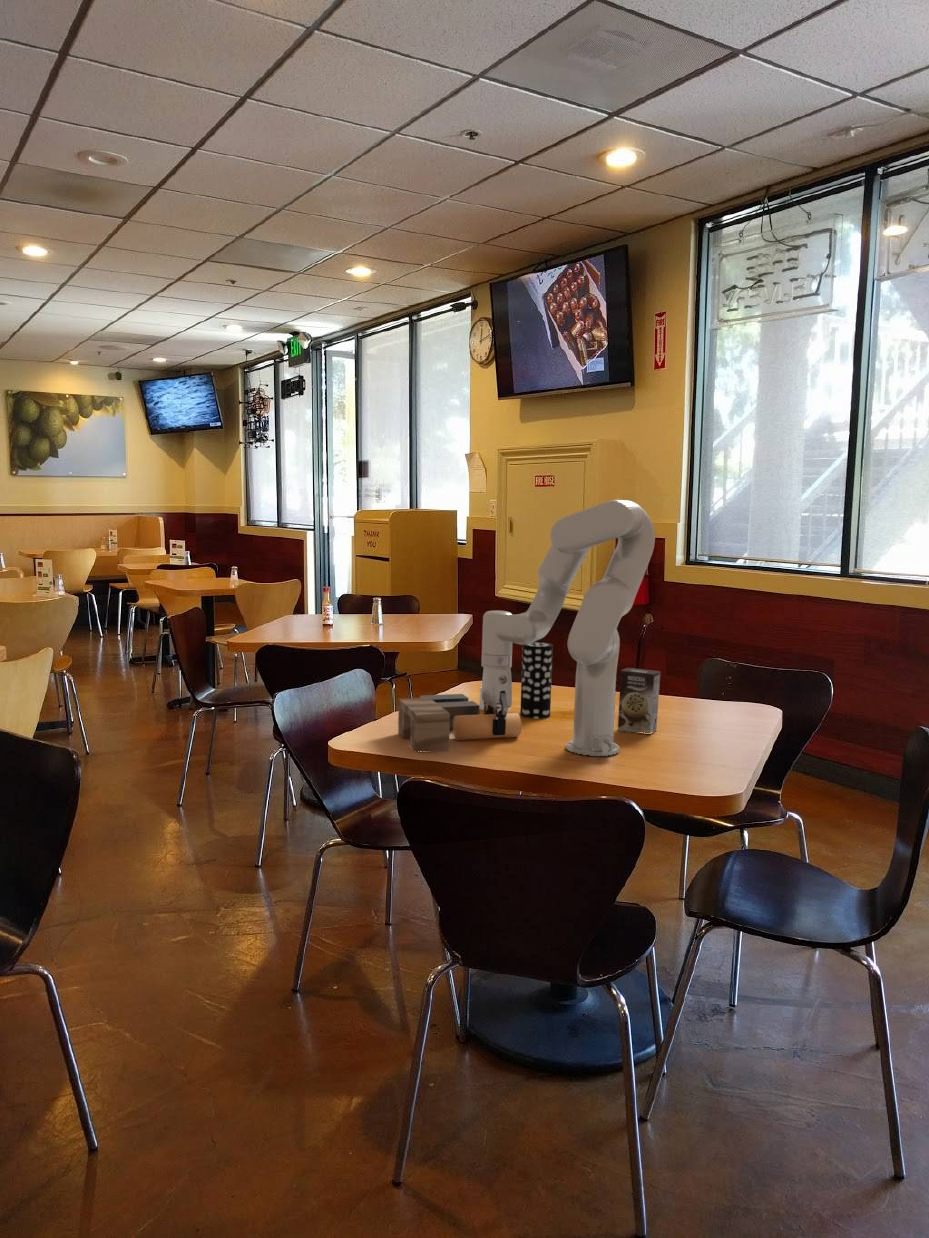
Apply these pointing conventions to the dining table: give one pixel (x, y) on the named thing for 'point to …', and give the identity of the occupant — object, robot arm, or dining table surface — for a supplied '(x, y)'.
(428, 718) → the beam
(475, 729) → the tan cylinder
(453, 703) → the v block
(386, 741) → the dining table surface
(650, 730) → the coffee box
